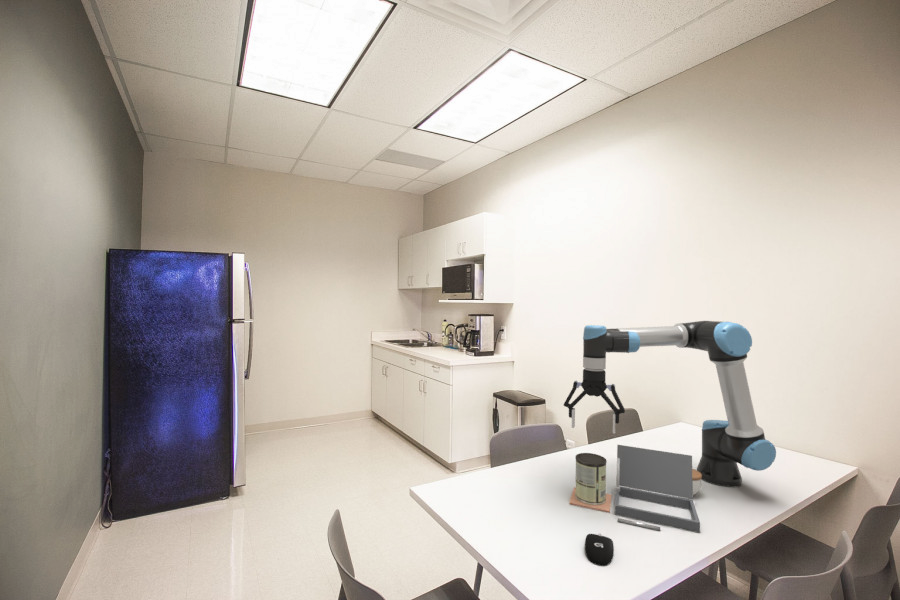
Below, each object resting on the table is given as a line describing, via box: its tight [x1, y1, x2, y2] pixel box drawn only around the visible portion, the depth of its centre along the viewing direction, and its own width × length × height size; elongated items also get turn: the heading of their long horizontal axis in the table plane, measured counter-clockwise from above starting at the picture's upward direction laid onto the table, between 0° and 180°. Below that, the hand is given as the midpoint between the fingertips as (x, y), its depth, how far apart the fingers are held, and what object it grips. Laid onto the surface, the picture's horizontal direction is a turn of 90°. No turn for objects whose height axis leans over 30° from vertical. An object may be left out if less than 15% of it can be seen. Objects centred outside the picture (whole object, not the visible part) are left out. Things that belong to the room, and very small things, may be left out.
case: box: [614, 444, 701, 534], centre depth 138 cm, size 24×20×17 cm
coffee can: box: [575, 452, 608, 505], centre depth 143 cm, size 10×10×14 cm
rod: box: [617, 517, 661, 532], centre depth 127 cm, size 12×1×1 cm, turn 66°
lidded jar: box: [692, 468, 702, 496], centre depth 151 cm, size 11×11×9 cm
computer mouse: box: [584, 533, 615, 567], centre depth 113 cm, size 8×12×4 cm, turn 158°
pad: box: [568, 486, 612, 514], centre depth 143 cm, size 13×13×1 cm
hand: (593, 429), depth 143 cm, fingers open, 13 cm apart
